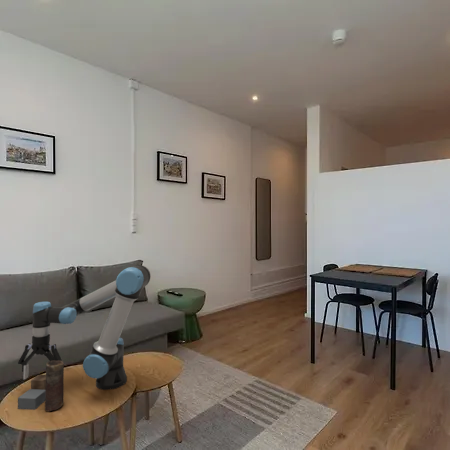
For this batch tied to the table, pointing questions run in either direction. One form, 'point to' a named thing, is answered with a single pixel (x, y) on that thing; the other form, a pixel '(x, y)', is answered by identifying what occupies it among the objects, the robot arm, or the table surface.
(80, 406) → the table surface
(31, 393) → the base block
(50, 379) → the candle
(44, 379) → the walnut block
